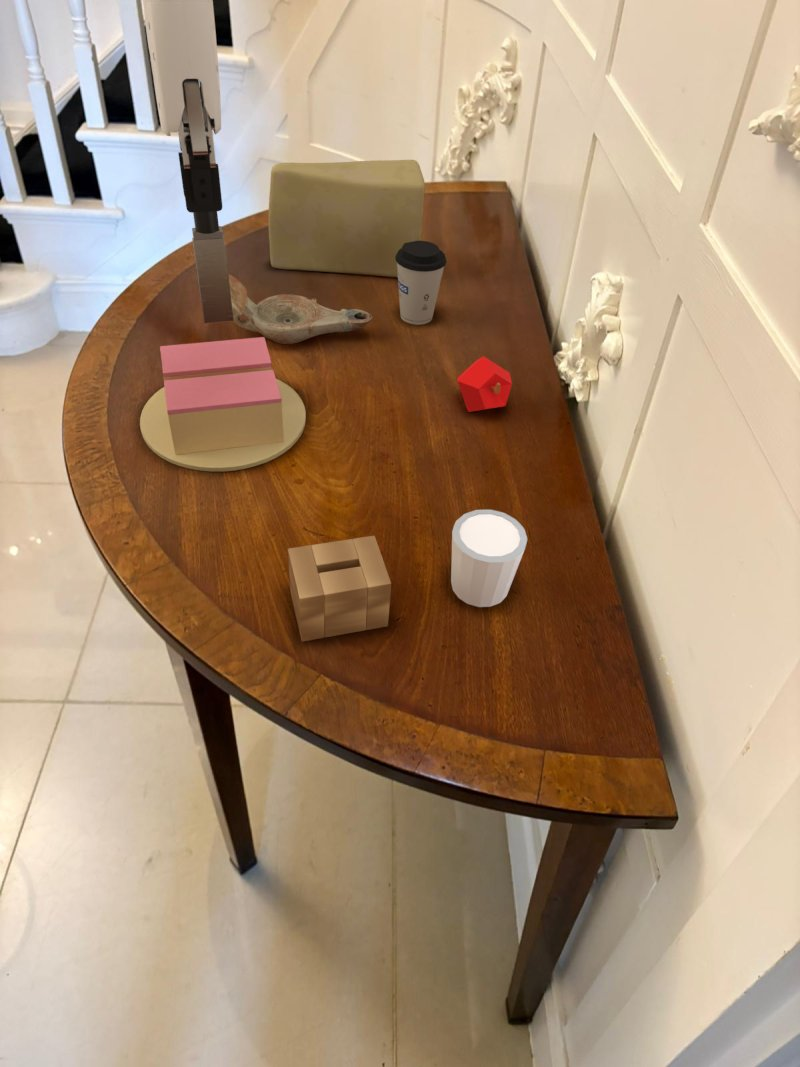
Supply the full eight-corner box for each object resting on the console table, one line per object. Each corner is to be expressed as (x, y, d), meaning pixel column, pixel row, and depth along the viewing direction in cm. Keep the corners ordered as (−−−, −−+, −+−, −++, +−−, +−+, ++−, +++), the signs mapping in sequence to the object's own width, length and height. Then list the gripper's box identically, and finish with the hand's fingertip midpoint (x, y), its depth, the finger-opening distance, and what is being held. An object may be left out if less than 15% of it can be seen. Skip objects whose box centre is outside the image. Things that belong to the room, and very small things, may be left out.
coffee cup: (442, 306, 114) (449, 239, 107) (439, 331, 109) (446, 263, 102) (394, 301, 114) (398, 234, 107) (389, 326, 109) (393, 257, 102)
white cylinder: (515, 563, 79) (527, 512, 74) (515, 616, 74) (528, 565, 69) (446, 555, 79) (454, 504, 74) (442, 607, 74) (450, 557, 69)
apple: (449, 348, 96) (476, 361, 89) (499, 352, 98) (528, 365, 91) (441, 403, 99) (466, 420, 92) (489, 406, 101) (517, 423, 94)
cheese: (270, 282, 116) (264, 178, 105) (271, 252, 123) (265, 151, 112) (419, 282, 119) (427, 181, 108) (411, 253, 125) (418, 154, 115)
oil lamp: (215, 316, 108) (207, 247, 101) (370, 319, 110) (373, 251, 103) (209, 351, 102) (199, 279, 95) (373, 353, 104) (375, 283, 97)
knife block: (301, 642, 70) (299, 598, 66) (290, 592, 74) (287, 548, 70) (388, 626, 72) (391, 583, 68) (372, 578, 76) (374, 535, 72)
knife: (205, 328, 81) (179, 145, 68) (203, 317, 82) (177, 136, 69) (234, 325, 81) (214, 144, 69) (232, 314, 83) (212, 135, 70)
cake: (144, 482, 84) (133, 433, 79) (137, 381, 96) (127, 334, 92) (320, 460, 88) (319, 412, 83) (291, 366, 101) (289, 320, 96)
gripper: (121, -59, 65) (157, 172, 78) (126, -15, 54) (167, 245, 67) (214, -57, 66) (234, 169, 79) (237, -13, 55) (255, 239, 68)
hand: (203, 202), depth 73 cm, fingers closed on knife, 2 cm apart
